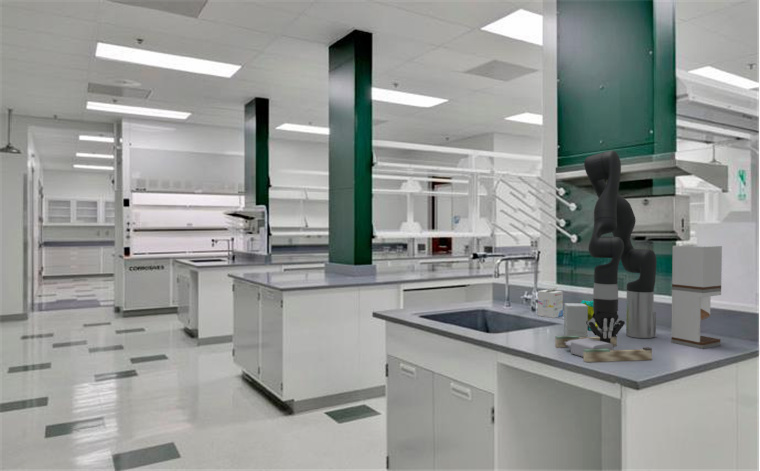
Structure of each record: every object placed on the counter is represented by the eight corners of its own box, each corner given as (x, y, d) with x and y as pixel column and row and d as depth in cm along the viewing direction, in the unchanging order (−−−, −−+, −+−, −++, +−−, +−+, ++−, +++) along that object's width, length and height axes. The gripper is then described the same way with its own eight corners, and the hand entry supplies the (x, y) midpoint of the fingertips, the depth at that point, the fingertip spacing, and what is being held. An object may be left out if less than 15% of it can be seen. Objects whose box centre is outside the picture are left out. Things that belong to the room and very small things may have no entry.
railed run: (614, 344, 177) (614, 334, 177) (651, 359, 158) (651, 348, 157) (555, 346, 175) (555, 336, 174) (585, 362, 155) (586, 350, 155)
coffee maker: (702, 348, 172) (703, 246, 171) (671, 342, 181) (672, 245, 180) (720, 345, 177) (721, 246, 177) (689, 339, 187) (690, 245, 186)
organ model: (603, 316, 196) (573, 298, 203) (591, 339, 201) (562, 321, 209) (617, 304, 206) (588, 288, 214) (605, 327, 212) (577, 310, 219)
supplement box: (587, 340, 184) (588, 306, 184) (566, 339, 185) (566, 305, 185) (583, 336, 191) (584, 303, 191) (563, 335, 193) (563, 302, 192)
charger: (576, 347, 174) (613, 357, 161) (556, 350, 170) (592, 361, 157) (576, 333, 174) (613, 343, 161) (556, 336, 170) (592, 346, 156)
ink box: (546, 313, 240) (546, 285, 240) (563, 315, 234) (563, 287, 234) (537, 315, 235) (537, 287, 234) (553, 318, 228) (554, 288, 228)
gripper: (617, 294, 170) (616, 345, 171) (580, 295, 169) (580, 346, 169) (631, 298, 163) (630, 351, 163) (593, 299, 161) (592, 352, 162)
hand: (605, 348), depth 166 cm, fingers closed
